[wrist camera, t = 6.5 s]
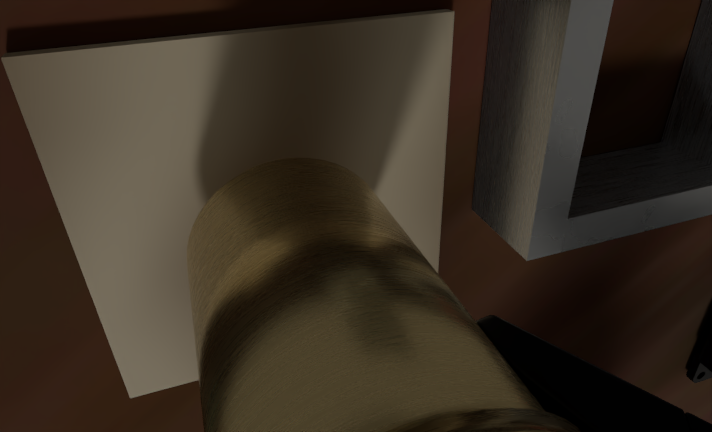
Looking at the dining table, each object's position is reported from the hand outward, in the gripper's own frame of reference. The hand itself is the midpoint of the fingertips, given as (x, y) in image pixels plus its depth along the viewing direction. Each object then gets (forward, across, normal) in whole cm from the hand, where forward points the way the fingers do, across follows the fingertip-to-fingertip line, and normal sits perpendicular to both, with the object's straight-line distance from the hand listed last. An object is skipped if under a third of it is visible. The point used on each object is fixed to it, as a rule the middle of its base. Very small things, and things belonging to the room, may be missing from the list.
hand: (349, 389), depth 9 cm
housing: (+6, -11, -1) cm, 13 cm away
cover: (+4, 0, 0) cm, 5 cm away
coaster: (+6, 0, 0) cm, 6 cm away
